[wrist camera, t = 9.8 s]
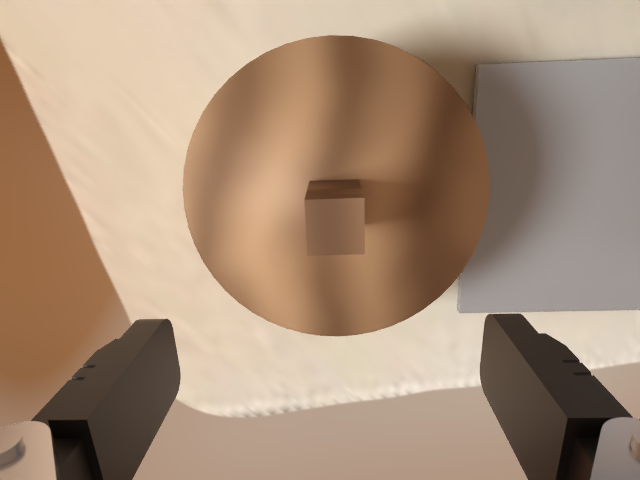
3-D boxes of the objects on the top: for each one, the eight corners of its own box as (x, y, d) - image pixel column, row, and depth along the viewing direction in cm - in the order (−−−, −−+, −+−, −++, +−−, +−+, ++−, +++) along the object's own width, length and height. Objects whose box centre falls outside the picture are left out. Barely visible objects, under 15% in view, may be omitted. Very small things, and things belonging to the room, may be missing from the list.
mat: (761, 53, 29) (772, 52, 29) (689, 304, 36) (697, 308, 35) (476, 65, 30) (480, 64, 29) (456, 308, 37) (459, 313, 36)
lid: (498, 29, 23) (552, 7, 18) (471, 325, 29) (505, 380, 24) (166, 45, 24) (115, 29, 18) (208, 331, 30) (179, 385, 24)
